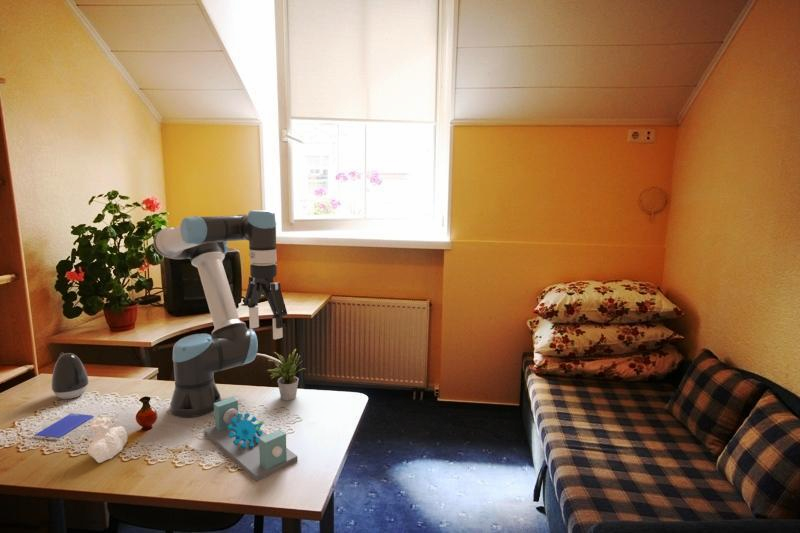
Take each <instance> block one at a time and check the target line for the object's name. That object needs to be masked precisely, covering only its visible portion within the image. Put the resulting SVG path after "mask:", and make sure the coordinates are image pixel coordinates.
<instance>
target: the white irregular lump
mask: <svg viewBox="0 0 800 533" xmlns="http://www.w3.org/2000/svg"><path fill="white" fill-rule="evenodd" d="M113 424H114V423H113V421H112V420H111V416H110V415H109V416H107V417H106V416H105V417H96V418H94V419H92V420H91V421H90V423H89V428H90V431H91V433H92V434H95V433H96V435H95V436H94V438H93V440H91V441H90V444H89V445H88V449H87V451H86V452H87V454H88V455H89V456H91V457H92V458H93V459H94V460H95V461H96V462H97V463H98V464H100V463H104V462H105V461H108V460H111V459H113V458H114V457H115V456H117V455H118V454H119V453H120V452H122V451H123V448H124V446H125V445H126V444H127V442H128V437H129V436H128V432H127V430H126V429H125V427H124V426H121V425H119V426H114V427H112V426H113Z"/></svg>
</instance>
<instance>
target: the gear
mask: <svg viewBox="0 0 800 533" xmlns="http://www.w3.org/2000/svg"><path fill="white" fill-rule="evenodd" d="M242 416H244V420H241V417H242ZM250 416H251V414H250V413H247V412H246V413H245V414H244V415H243V413H239V414H237V418H238V423H237V422H236V418H235V417H233V418H232V419H231V420H230V421H231V422H232V423H233V424H234V425H235V428H234V427H233V425H232V424H230V425H229V426H228V428H227V429H228V430H233V431H234V432H235V433H236V434H234V433H233V432H230V433H229V438H232V437H235V440H234V441H233V443H234V444H235V445H237V444H238V443H239V441H241V440H243V441H244V443H242V444H241V446H240V447H241V448H243V449H244V448H245V447H246V443H247V441H250V444H249V445H248V447H250V448H251V447H253V446H254V443H253V438H254V439H255V443H258V442H259V438H258V437H257V436H256V434H255V433H257V435H258V436H259V437H260V436H261V435H262V433H263V432H262V431H258V430H259V429H262V428H261V427H262V426H263V425H264V424H265V423H264V420H260V422H259V423H255V422H256V421H257V420H258V419H257V417H256V416H253V417H252V418H251V419H248V418H250ZM247 419H248V420H249V421H248V420H247Z"/></svg>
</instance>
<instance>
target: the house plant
mask: <svg viewBox="0 0 800 533" xmlns="http://www.w3.org/2000/svg"><path fill="white" fill-rule="evenodd" d="M296 352H297V348H295V349H293V351H292V353H289V355H288V357H287V361H286V360H285V358H284V356H282V355H281V354H279V353H277V352H275V351H273V353H274V354H276V355H277V357H278V359H279V361H280V363H281V364H280V363H279V362H277V361H276V360H274V359H269V362H273V363H274V365H275V366H277V367H275V368H273V369H271V368H270V369H266V371H267V372H271V373H272V374H270V377H271V378H270V379H271V380H272V379H274V378H276V377H279V378H278V379H277V384H278V390H279V394H280V399H281V400H283V401H291V400H294V399H296V398H297V392H298V385H299V377H297V376H295V375H296V374H297V373H298V372H299V371H301V370H306V368H304V367H303V368H300V369H298V370H297V367H299V365H300V364H301V363H302V362H303V360H301V361H300V362H299V360H300V357H301V355H299V356H298V353H296ZM295 353H296V356H295Z"/></svg>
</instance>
